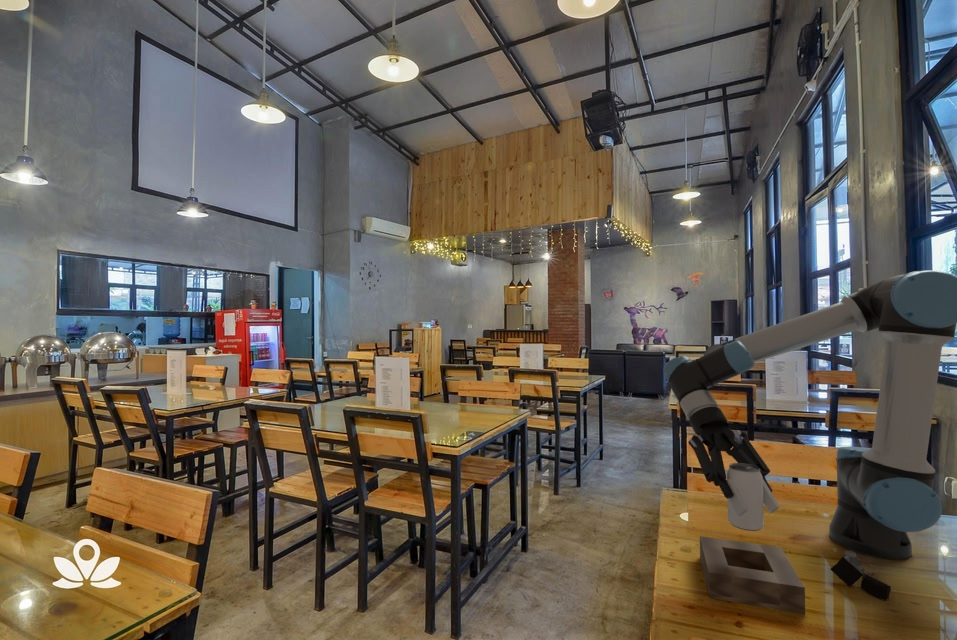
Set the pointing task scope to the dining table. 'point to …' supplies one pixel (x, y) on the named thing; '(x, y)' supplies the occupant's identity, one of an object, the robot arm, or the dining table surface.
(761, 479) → the can
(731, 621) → the dining table surface
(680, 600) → the dining table surface
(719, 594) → the socket block
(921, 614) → the dining table surface
